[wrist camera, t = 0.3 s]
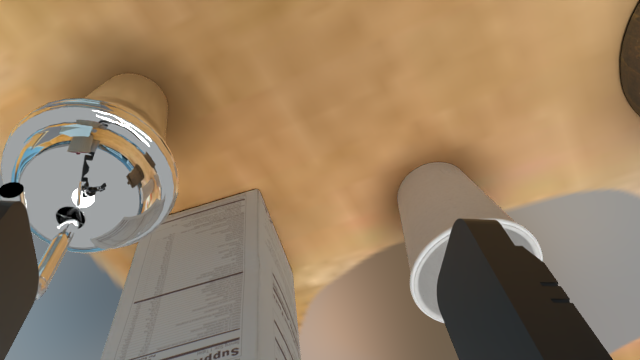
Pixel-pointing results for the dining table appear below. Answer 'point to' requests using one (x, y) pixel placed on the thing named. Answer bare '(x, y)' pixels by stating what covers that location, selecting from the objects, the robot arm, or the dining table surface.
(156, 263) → the supplement box
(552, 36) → the dining table surface
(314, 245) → the dining table surface
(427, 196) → the dixie cup
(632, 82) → the wooden container
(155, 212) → the cup with straw
